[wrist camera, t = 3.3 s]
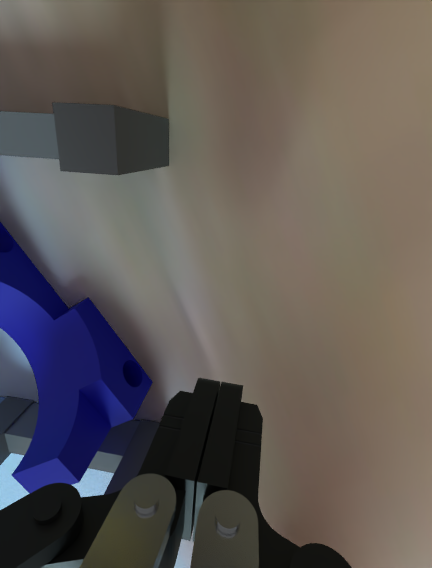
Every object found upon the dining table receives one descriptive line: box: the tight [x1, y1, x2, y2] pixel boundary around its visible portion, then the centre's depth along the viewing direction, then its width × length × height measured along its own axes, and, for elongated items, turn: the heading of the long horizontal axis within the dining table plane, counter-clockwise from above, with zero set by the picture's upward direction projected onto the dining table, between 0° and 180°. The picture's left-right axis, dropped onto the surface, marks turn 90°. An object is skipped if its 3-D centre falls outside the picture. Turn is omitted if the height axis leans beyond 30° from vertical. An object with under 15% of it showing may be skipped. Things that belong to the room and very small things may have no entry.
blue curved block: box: [0, 222, 153, 493], centre depth 16 cm, size 12×4×6 cm, turn 32°
